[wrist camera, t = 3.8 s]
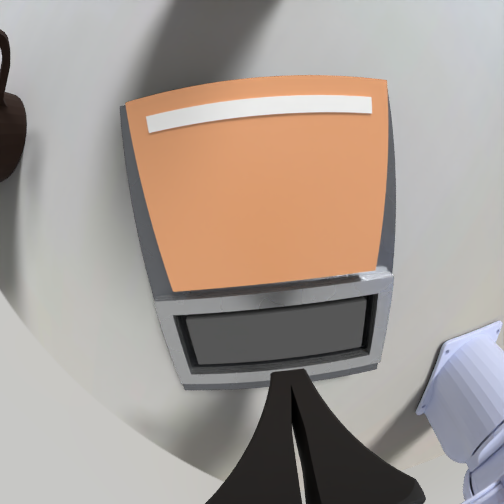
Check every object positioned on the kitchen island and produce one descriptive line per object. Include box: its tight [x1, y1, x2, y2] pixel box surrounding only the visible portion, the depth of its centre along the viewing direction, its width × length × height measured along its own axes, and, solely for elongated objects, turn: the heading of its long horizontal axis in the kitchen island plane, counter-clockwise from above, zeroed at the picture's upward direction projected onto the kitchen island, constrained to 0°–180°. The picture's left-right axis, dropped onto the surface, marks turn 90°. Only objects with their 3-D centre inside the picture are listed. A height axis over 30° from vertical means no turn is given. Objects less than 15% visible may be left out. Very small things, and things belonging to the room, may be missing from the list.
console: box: [120, 90, 396, 390], centre depth 13 cm, size 16×12×3 cm
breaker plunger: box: [186, 296, 366, 364], centre depth 14 cm, size 3×9×2 cm, turn 96°
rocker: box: [125, 75, 388, 292], centre depth 10 cm, size 8×9×1 cm
